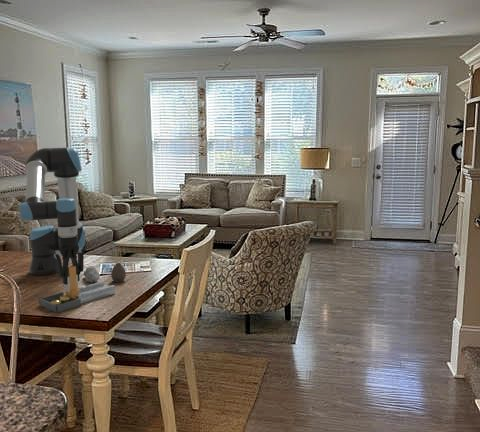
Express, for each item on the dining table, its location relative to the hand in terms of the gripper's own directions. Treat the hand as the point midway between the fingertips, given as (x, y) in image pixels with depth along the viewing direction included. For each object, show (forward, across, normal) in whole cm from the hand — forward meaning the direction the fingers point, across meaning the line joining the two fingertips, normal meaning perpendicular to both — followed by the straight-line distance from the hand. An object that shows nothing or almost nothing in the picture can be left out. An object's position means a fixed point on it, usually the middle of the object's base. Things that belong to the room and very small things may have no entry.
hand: (72, 290), depth 199 cm
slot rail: (+5, +9, 0) cm, 10 cm away
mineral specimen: (+6, +22, +20) cm, 31 cm away
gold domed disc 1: (+5, -8, 0) cm, 9 cm away
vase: (+5, +30, +9) cm, 32 cm away
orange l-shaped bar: (+3, 0, 0) cm, 3 cm away
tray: (+5, -6, 0) cm, 8 cm away
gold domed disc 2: (+4, -4, 0) cm, 5 cm away
